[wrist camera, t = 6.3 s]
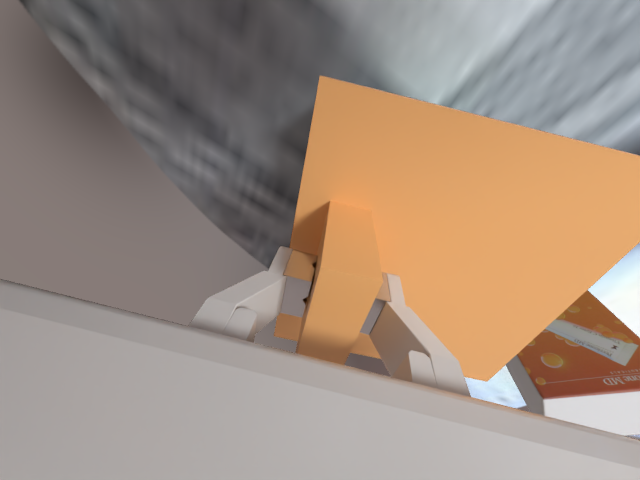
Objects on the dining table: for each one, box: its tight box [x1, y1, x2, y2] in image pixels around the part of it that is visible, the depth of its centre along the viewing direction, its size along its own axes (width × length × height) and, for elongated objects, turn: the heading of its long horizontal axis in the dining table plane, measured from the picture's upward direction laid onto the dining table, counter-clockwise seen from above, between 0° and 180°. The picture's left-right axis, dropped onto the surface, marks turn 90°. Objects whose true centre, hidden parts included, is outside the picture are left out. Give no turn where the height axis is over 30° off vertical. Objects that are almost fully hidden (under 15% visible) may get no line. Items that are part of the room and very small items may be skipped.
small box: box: [506, 290, 640, 436], centre depth 24 cm, size 8×6×13 cm
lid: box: [274, 76, 640, 381], centre depth 10 cm, size 13×13×6 cm
